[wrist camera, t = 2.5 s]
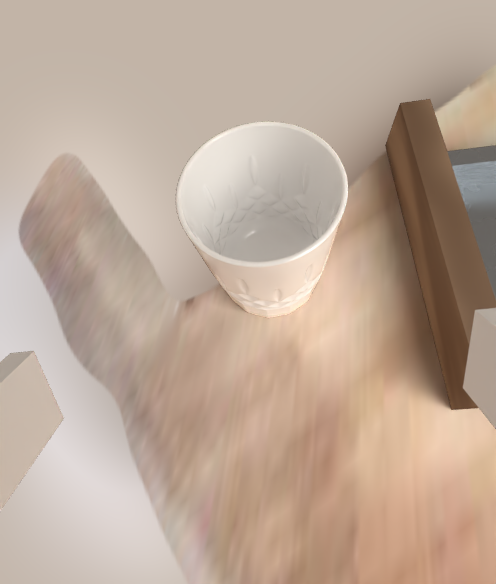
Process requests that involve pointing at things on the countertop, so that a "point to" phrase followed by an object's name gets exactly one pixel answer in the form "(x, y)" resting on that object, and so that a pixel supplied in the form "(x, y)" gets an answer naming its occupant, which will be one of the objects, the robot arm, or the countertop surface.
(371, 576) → the countertop surface
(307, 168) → the white cup
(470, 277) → the brown drawer face panel
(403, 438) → the countertop surface
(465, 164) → the gray square tray
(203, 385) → the countertop surface
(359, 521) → the countertop surface
